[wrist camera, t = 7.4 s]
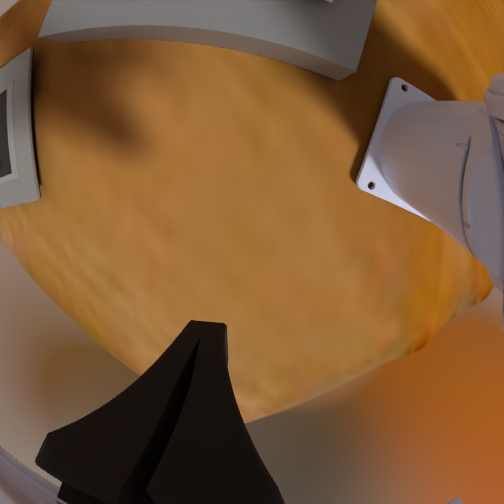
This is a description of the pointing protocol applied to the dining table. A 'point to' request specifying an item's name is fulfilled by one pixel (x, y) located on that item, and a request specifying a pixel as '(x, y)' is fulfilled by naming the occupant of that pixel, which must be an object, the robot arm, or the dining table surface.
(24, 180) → the electrical outlet
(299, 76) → the dining table surface
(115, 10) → the panel
